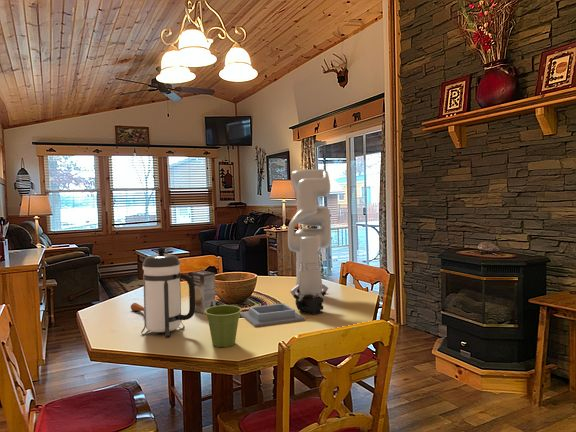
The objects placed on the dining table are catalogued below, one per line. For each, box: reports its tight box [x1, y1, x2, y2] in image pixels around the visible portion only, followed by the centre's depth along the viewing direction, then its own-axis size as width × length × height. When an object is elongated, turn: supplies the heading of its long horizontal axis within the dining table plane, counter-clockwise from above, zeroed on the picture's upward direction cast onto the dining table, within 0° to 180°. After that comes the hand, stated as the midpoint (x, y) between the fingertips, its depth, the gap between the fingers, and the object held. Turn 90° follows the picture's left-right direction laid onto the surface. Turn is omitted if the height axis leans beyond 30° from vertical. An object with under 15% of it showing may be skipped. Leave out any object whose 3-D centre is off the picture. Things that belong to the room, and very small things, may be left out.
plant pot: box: [205, 304, 243, 348], centre depth 140 cm, size 12×12×11 cm
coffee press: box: [140, 246, 196, 338], centre depth 153 cm, size 17×16×30 cm
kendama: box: [130, 302, 144, 313], centre depth 177 cm, size 6×6×20 cm
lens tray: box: [240, 303, 306, 328], centre depth 170 cm, size 20×18×4 cm
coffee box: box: [190, 270, 216, 315], centre depth 182 cm, size 9×6×16 cm
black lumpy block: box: [295, 295, 324, 315], centre depth 178 cm, size 10×7×7 cm
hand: (309, 308), depth 178 cm, fingers closed on black lumpy block, 8 cm apart
